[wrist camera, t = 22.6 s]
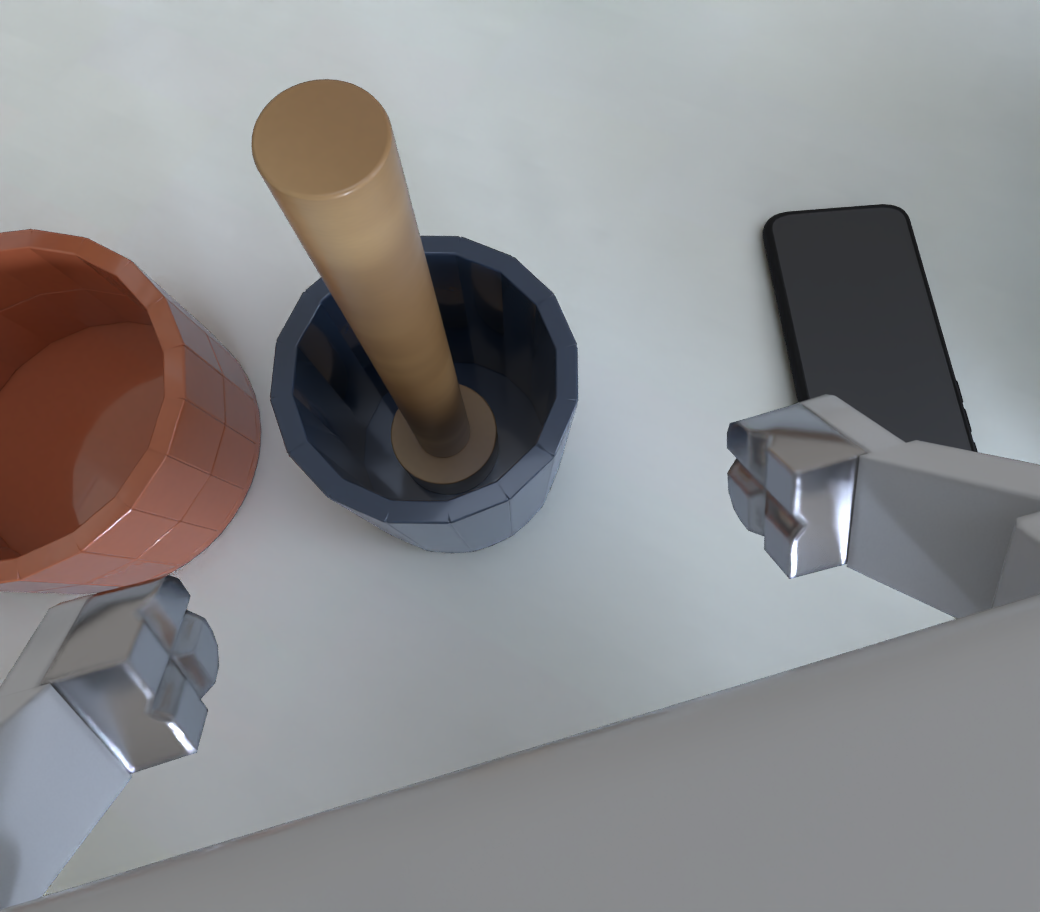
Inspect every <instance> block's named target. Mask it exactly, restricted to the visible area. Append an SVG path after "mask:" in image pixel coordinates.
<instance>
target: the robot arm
mask: <svg viewBox="0 0 1040 912" xmlns="http://www.w3.org/2000/svg"><path fill="white" fill-rule="evenodd" d="M727 449H728V450H729V451H730V452H731V453H732V454H733V455H734V456H735V457H736V460H735V462H734V463H733V465H732V466H731V468H730V470H729V471H728V473H727V474H728V491H729V495H730V498H731V502H732V505H733V508H734V510H735V512H736V514H737V516H738V518H739V519H740V521H741V522H742V523H743V525H744V526H745V527H746V528H747V529H748V531H751V532H754V533H756V534H759V535H762V536H764V550H765V551H766V552H767V553H768V554H769V556H770V557H771V558H772V559H773V560H774V561H775V563H776V564H777V565H778V566H779V567H780V568H781V570H782V571H783V572H784V573H785V574H786V575H787V577H788V578H789V579H791V578H795V577H799V576H803V575H806V574H810V573H814V572H818V571H822V570H825V569H829V568H833V567H837V566H841V565H844V564H847V567H849V568H851V569H853V570H855V571H857V572H859V573H861V574H864V575H866V576H868V577H870V578H872V579H874V580H876V581H879V582H881V583H883V584H885V585H887V586H889V587H891V588H893V589H896V590H898V591H900V592H902V593H904V594H906V595H908V596H910V597H913V598H915V599H917V600H919V601H921V602H923V603H925V604H928V605H930V606H932V607H934V608H936V609H938V610H940V611H942V612H945V613H947V614H949V615H951V616H953V617H955V618H957V619H954V620H951V621H948V622H945V623H941V624H938V625H935V626H931V627H928V628H925V629H922V630H918V631H915V632H912V633H909V634H905V635H902V636H899V637H895V638H892V639H889V640H886V641H882V642H879V643H876V644H873V645H869V646H866V647H863V648H860V649H856V650H853V651H850V652H846V653H843V654H840V655H837V656H833V657H830V658H827V659H824V660H820V661H817V662H814V663H810V664H807V665H804V666H800V667H797V668H794V669H790V670H787V671H784V672H781V673H777V674H774V675H771V676H767V677H764V678H761V679H757V680H754V681H751V682H747V683H744V684H741V685H738V686H734V687H731V688H728V689H724V690H721V691H718V692H714V693H711V694H708V695H704V696H701V697H698V698H695V699H691V700H688V701H685V702H681V703H678V704H675V705H671V706H668V707H665V708H661V709H658V710H655V711H652V712H648V713H645V714H642V715H638V716H635V717H632V718H628V719H625V720H622V721H618V722H615V723H612V724H609V725H605V726H602V727H599V728H595V729H592V730H589V731H586V732H582V733H579V734H576V735H572V736H569V737H566V738H563V739H559V740H556V741H553V742H549V743H546V744H543V745H540V746H536V747H533V748H530V749H526V750H523V751H520V752H517V753H513V754H510V755H507V756H503V757H500V758H497V759H494V760H490V761H487V762H484V763H481V764H477V765H474V766H471V767H467V768H464V769H461V770H458V771H454V772H451V773H448V774H444V775H441V776H438V777H435V778H431V779H428V780H425V781H421V782H418V783H415V784H412V785H408V786H405V787H402V788H398V789H395V790H392V791H389V792H385V793H382V794H379V795H375V796H372V797H369V798H366V799H362V800H359V801H356V802H352V803H349V804H346V805H343V806H339V807H336V808H333V809H329V810H326V811H323V812H320V813H316V814H313V815H310V816H306V817H303V818H300V819H297V820H293V821H290V822H287V823H283V824H280V825H277V826H274V827H270V828H267V829H264V830H260V831H257V832H254V833H251V834H247V835H244V836H241V837H237V838H234V839H231V840H228V841H224V842H221V843H218V844H214V845H211V846H208V847H204V848H201V849H198V850H195V851H191V852H188V853H185V854H181V855H178V856H175V857H172V858H168V859H165V860H162V861H158V862H155V863H152V864H149V865H145V866H142V867H139V868H135V869H132V870H129V871H126V872H122V873H119V874H116V875H112V876H109V877H106V878H103V879H99V880H96V881H93V882H89V883H86V884H83V885H80V886H76V887H73V888H70V889H66V890H63V891H60V892H56V893H53V894H50V895H47V896H43V897H42V895H43V894H44V893H45V891H46V890H47V889H48V887H49V886H50V885H51V883H52V882H53V881H54V880H55V878H56V877H57V876H58V874H59V873H60V872H61V870H62V869H63V868H64V866H65V865H66V864H67V862H68V861H69V860H70V858H71V857H72V856H73V854H74V853H75V852H76V850H77V849H78V848H79V846H80V845H81V844H82V843H83V841H84V840H85V839H86V837H87V836H88V835H89V833H90V832H91V831H92V829H93V828H94V827H95V825H96V824H97V823H98V821H99V820H100V819H101V817H102V816H103V815H104V813H105V812H106V811H107V809H108V808H109V807H110V805H111V804H112V803H113V802H114V800H115V799H116V798H117V796H118V795H119V794H120V792H121V791H122V790H123V788H124V787H125V786H126V784H127V783H128V782H129V780H130V779H131V778H132V775H131V774H132V773H135V772H138V771H141V770H144V769H147V768H150V767H153V766H157V765H160V764H163V763H166V762H169V761H172V760H175V759H178V758H181V757H185V756H188V755H191V754H194V753H197V750H198V746H199V742H200V739H201V735H202V731H203V727H204V724H205V720H206V716H207V712H208V709H207V707H206V706H205V705H204V703H203V702H202V700H201V698H202V697H203V696H204V695H205V694H206V693H207V692H208V691H209V689H210V688H211V687H212V686H213V685H214V684H215V682H216V677H217V673H218V669H219V656H218V645H217V642H216V639H215V636H214V633H213V631H212V629H211V627H210V626H209V624H208V622H207V621H206V619H205V618H203V617H201V616H199V615H197V614H195V613H192V612H190V611H188V610H187V607H188V603H189V599H190V594H189V593H188V591H187V590H186V588H185V587H184V586H183V584H182V583H181V581H180V580H179V579H178V578H175V577H172V576H169V575H167V576H163V577H159V578H155V579H151V580H147V581H143V582H139V583H135V584H131V585H127V586H123V587H119V588H115V589H111V590H107V591H103V592H99V593H97V594H92V595H87V596H84V597H80V598H76V599H73V600H69V601H66V602H62V603H59V604H58V605H56V606H54V607H52V608H50V609H49V610H48V611H47V613H46V615H45V616H44V618H43V619H42V621H41V623H40V624H39V626H38V627H37V629H36V631H35V632H34V634H33V635H32V637H31V639H30V640H29V642H28V643H27V645H26V647H25V648H24V650H23V651H22V653H21V655H20V656H19V658H18V659H17V661H16V663H15V664H14V666H13V667H12V669H11V671H10V672H9V674H8V675H7V677H6V679H5V680H4V682H3V684H2V685H1V687H0V912H1040V465H1039V464H1034V463H1029V462H1024V461H1019V460H1014V459H1009V458H1004V457H999V456H994V455H988V454H983V453H978V452H973V451H968V450H963V449H958V448H953V447H948V446H943V445H938V444H933V443H928V442H923V441H918V440H915V441H911V442H907V443H905V442H904V441H902V440H901V439H899V438H898V437H896V436H895V435H893V434H892V433H890V432H889V431H887V430H886V429H884V428H883V427H881V426H880V425H878V424H877V423H875V422H874V421H872V420H871V419H869V418H868V417H866V416H865V415H863V414H862V413H860V412H859V411H857V410H856V409H854V408H853V407H851V406H850V405H848V404H847V403H845V402H844V401H842V400H841V399H839V398H838V397H836V396H834V395H827V394H825V395H821V396H818V397H815V398H812V399H808V400H805V401H802V402H799V403H796V404H794V405H791V406H787V407H784V408H780V409H777V410H774V411H770V412H767V413H763V414H760V415H757V416H753V417H750V418H746V419H743V420H739V421H736V422H733V423H730V425H729V428H728V432H727Z"/></svg>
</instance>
